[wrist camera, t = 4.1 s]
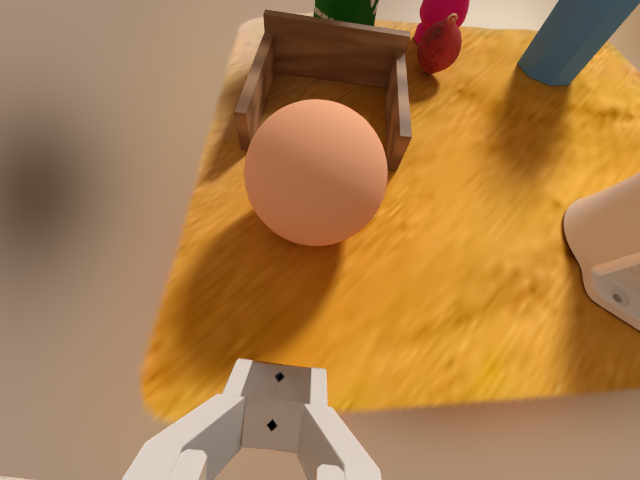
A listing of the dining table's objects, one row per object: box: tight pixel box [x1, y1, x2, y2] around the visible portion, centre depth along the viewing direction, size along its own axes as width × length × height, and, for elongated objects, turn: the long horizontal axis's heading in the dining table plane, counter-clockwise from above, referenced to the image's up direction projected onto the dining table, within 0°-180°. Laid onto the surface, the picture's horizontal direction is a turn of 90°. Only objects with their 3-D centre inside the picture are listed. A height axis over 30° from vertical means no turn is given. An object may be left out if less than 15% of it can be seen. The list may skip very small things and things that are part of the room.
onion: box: [417, 13, 462, 74], centre depth 42 cm, size 6×6×8 cm
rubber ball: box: [244, 99, 388, 246], centre depth 25 cm, size 12×12×12 cm
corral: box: [234, 10, 412, 171], centre depth 36 cm, size 17×18×7 cm
